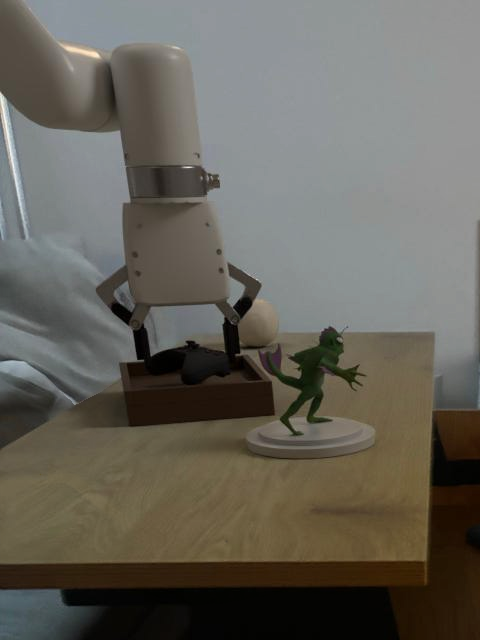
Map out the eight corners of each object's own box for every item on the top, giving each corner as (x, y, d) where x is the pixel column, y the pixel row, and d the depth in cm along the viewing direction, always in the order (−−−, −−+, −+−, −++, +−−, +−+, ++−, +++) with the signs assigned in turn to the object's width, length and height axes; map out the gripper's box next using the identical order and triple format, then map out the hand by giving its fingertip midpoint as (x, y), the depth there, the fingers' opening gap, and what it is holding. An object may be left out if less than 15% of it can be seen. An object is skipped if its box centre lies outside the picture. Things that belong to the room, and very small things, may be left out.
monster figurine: (399, 444, 91) (394, 330, 87) (281, 465, 85) (269, 343, 81) (337, 421, 100) (330, 316, 96) (226, 438, 94) (212, 327, 89)
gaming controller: (138, 367, 108) (169, 322, 109) (175, 397, 112) (204, 354, 112) (181, 378, 101) (213, 331, 102) (218, 410, 105) (249, 364, 106)
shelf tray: (129, 426, 99) (123, 391, 97) (123, 393, 114) (118, 362, 112) (275, 414, 103) (271, 380, 102) (251, 384, 118) (248, 354, 117)
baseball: (233, 343, 147) (228, 296, 144) (282, 342, 147) (278, 295, 144) (227, 350, 141) (221, 301, 138) (279, 349, 141) (274, 300, 138)
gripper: (249, 185, 105) (265, 354, 113) (75, 187, 100) (105, 364, 107) (259, 186, 99) (276, 364, 106) (74, 188, 93) (106, 376, 101)
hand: (190, 363), depth 107 cm, fingers closed on gaming controller, 8 cm apart
